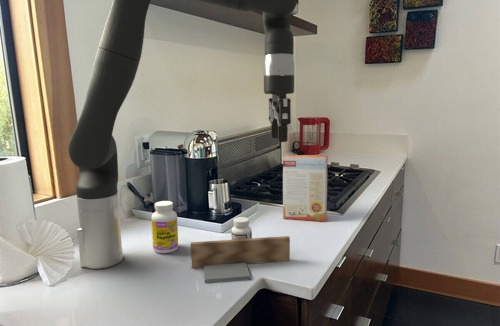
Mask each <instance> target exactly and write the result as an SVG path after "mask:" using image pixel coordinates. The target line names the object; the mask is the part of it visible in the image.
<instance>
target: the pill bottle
mask: <svg viewBox="0 0 500 326" xmlns="http://www.w3.org/2000/svg"><path fill="white" fill-rule="evenodd" d="M249 225H250V219H249V217H243V216H239V217H235V218H233V226H232V228H231V231H230V232H231V240H235V239H251V238H253V234H252V233H253V232H252V231H253V230H252V227H251V226H249Z"/></svg>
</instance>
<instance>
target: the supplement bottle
mask: <svg viewBox="0 0 500 326" xmlns="http://www.w3.org/2000/svg"><path fill="white" fill-rule="evenodd" d="M173 209H174V202H172V201H170V200H161V201H157V202H155V203H154V210H155V211H154V212H153V213H152V214H151V232H152V233H151V235H152V248H153V249H152V250H153V251H154V252H155V253H158V254H170V253H173V252H175V251H176V250H177V249H178V248H179V238H178V237H179V231H178V230H179V228H178V214H177V212H176V211H175V210H173Z"/></svg>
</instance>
